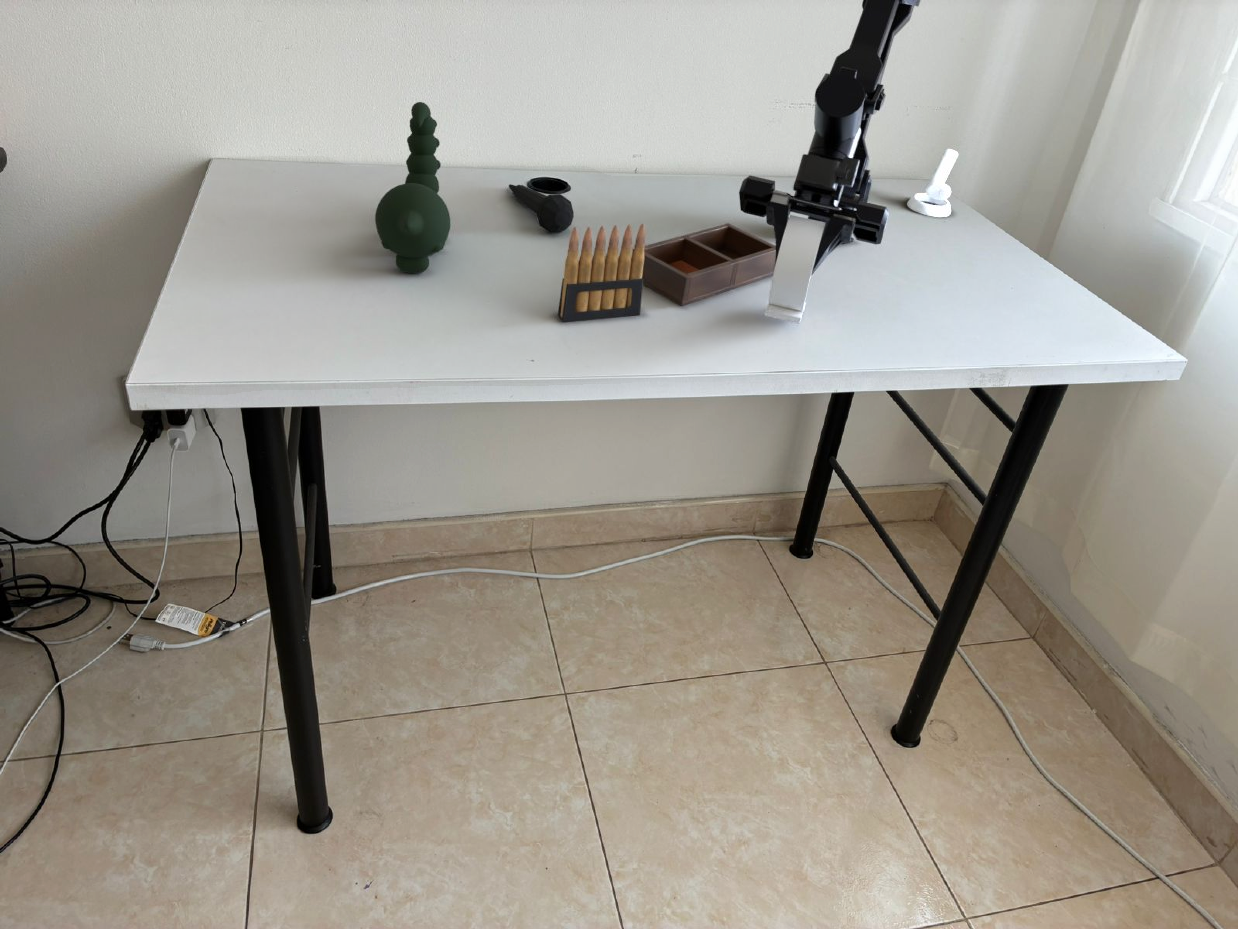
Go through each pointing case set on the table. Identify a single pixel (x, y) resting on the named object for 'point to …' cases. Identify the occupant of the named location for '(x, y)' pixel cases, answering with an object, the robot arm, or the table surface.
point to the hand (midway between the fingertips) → (792, 270)
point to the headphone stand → (794, 268)
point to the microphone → (546, 208)
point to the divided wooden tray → (706, 263)
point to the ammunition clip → (602, 277)
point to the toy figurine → (415, 201)
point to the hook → (936, 190)
